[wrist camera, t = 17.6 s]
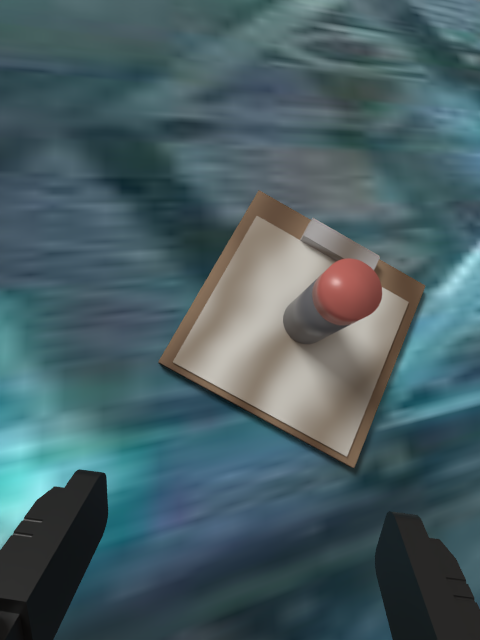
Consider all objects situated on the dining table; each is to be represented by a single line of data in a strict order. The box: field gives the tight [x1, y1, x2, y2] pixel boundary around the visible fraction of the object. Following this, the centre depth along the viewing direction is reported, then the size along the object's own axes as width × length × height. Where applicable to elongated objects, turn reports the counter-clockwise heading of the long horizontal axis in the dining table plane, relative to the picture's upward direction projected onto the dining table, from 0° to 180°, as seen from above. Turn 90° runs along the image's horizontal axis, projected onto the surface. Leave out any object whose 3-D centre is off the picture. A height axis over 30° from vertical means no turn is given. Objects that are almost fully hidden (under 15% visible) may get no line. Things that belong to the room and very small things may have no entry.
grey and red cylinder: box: [283, 258, 382, 344], centre depth 29 cm, size 4×4×9 cm
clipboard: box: [159, 191, 425, 468], centre depth 33 cm, size 18×18×2 cm
